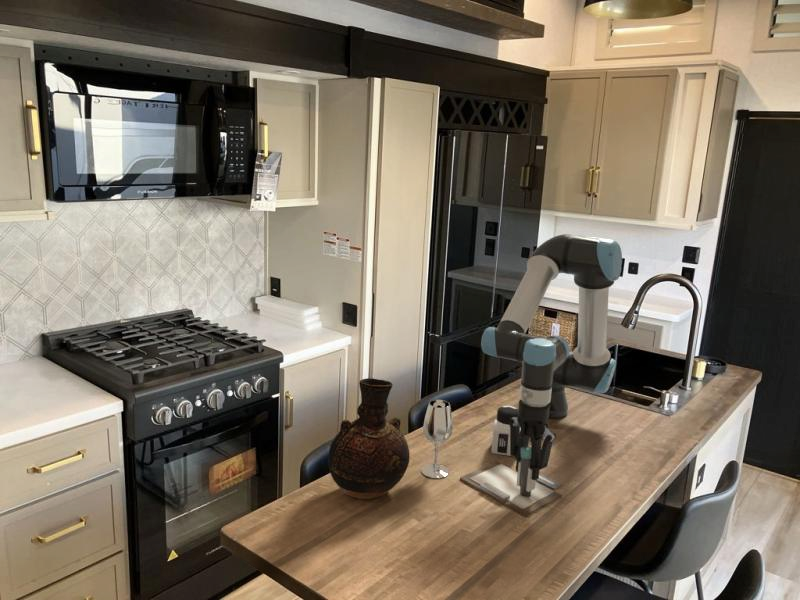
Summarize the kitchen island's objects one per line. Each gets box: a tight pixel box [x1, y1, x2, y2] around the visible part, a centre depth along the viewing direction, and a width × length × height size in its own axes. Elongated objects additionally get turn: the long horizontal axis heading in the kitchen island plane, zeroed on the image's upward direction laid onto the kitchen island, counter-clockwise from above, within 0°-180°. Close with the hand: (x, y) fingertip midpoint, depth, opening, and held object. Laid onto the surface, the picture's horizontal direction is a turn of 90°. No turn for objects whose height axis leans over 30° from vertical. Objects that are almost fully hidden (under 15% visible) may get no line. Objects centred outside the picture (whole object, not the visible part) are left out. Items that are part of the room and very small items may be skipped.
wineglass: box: [420, 399, 453, 479], centre depth 174 cm, size 8×8×20 cm
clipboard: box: [459, 461, 563, 518], centre depth 169 cm, size 15×22×2 cm
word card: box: [536, 472, 563, 491], centre depth 174 cm, size 4×9×1 cm, turn 41°
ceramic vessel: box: [327, 377, 410, 500], centre depth 161 cm, size 21×18×30 cm
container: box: [491, 405, 521, 457], centre depth 189 cm, size 8×8×13 cm
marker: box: [520, 445, 532, 497], centre depth 164 cm, size 3×3×13 cm
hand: (525, 486), depth 165 cm, fingers closed on marker, 2 cm apart
